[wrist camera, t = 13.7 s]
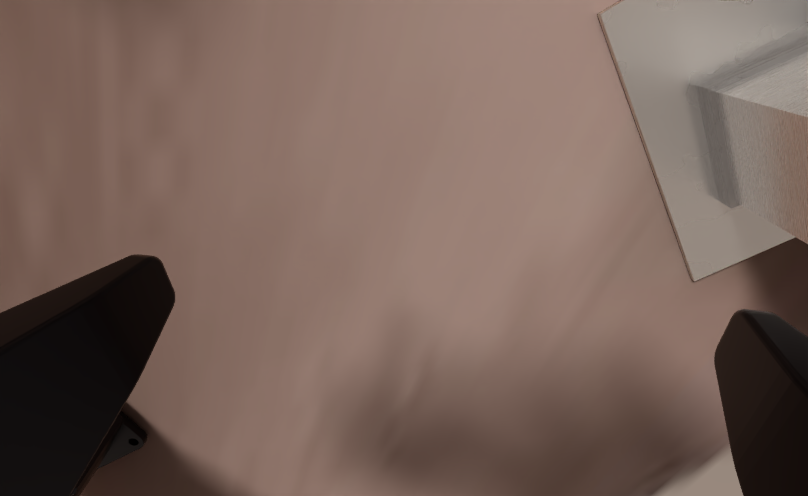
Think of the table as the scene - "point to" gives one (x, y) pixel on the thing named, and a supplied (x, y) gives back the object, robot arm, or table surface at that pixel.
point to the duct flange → (695, 108)
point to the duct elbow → (762, 135)
